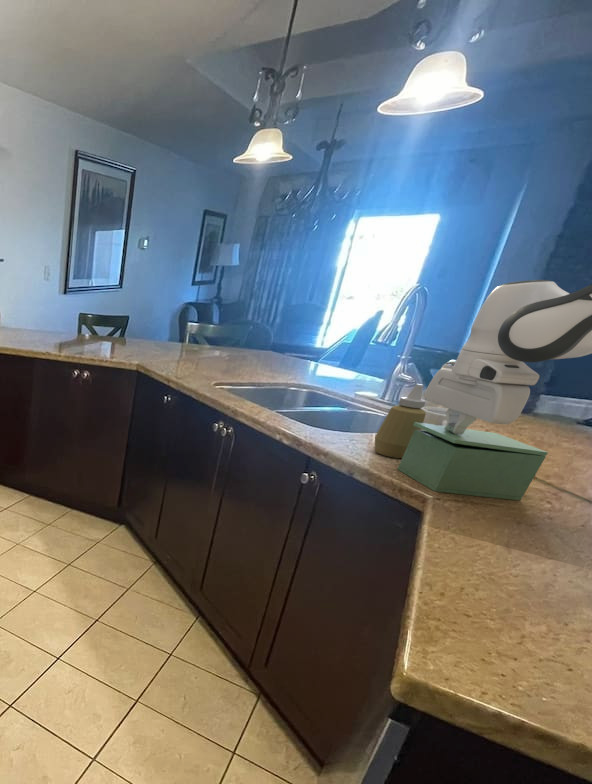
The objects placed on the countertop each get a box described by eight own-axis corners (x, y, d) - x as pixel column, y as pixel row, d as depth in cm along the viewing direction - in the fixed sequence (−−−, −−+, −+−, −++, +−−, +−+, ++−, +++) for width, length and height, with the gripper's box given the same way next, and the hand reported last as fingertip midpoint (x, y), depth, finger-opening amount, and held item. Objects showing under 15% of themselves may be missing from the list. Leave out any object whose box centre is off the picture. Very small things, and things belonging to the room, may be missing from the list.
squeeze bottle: (416, 462, 119) (450, 389, 112) (377, 457, 122) (407, 385, 114) (400, 451, 126) (431, 382, 119) (363, 447, 129) (391, 379, 121)
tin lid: (453, 443, 99) (455, 439, 98) (412, 425, 110) (414, 421, 110) (546, 456, 96) (548, 452, 96) (494, 436, 108) (496, 433, 107)
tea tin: (434, 491, 103) (456, 447, 99) (397, 469, 114) (414, 429, 110) (520, 500, 100) (546, 456, 96) (473, 477, 112) (494, 436, 108)
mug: (455, 448, 131) (472, 412, 127) (458, 462, 121) (478, 423, 117) (404, 438, 137) (420, 404, 133) (403, 451, 127) (420, 414, 123)
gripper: (430, 357, 108) (404, 417, 113) (508, 375, 89) (472, 446, 95) (463, 359, 107) (435, 420, 112) (548, 378, 88) (510, 449, 94)
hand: (452, 432), depth 103 cm, fingers closed, pressing on tin lid
